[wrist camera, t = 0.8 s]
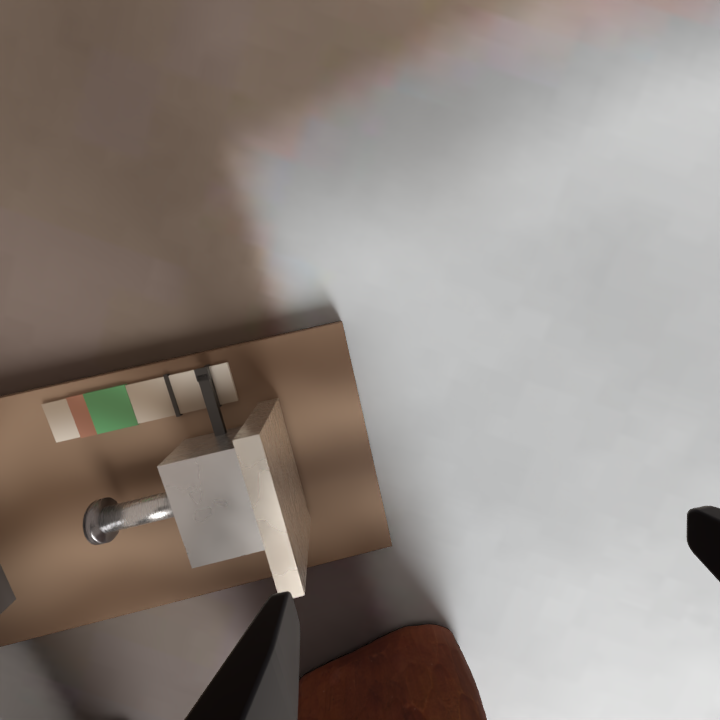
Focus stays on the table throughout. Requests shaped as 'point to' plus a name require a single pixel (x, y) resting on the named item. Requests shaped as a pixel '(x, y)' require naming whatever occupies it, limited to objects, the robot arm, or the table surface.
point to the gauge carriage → (225, 495)
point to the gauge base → (141, 479)
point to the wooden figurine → (395, 681)
